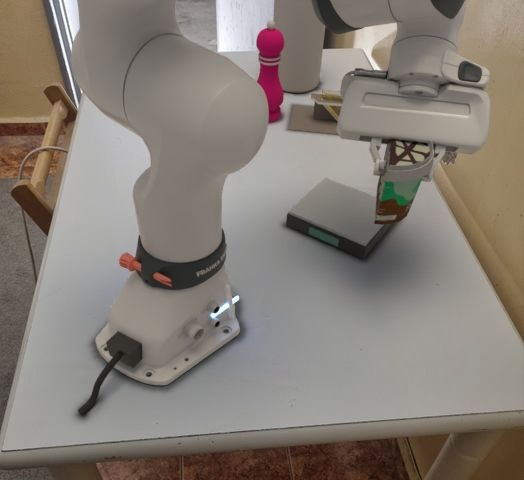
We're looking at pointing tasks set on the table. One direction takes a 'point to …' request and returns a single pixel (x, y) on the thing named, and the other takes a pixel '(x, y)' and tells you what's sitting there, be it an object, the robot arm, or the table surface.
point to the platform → (318, 114)
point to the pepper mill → (270, 67)
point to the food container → (401, 179)
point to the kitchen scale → (338, 217)
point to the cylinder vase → (299, 44)
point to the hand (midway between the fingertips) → (402, 177)
